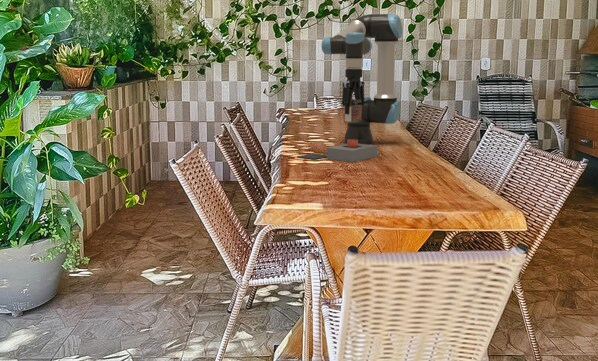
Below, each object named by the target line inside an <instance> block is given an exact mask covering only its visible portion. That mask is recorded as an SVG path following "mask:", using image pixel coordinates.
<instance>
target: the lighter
mask: <svg viewBox="0 0 598 361" xmlns="http://www.w3.org/2000/svg"><path fill="white" fill-rule="evenodd" d="M353 99H354V98H352V100H351V104H350V107H351V122H362V120H361V112H362V105H358V103H361V100H353ZM355 103H356V104H355ZM343 108H345V106H343ZM343 122H344V123H347V124H348V123H351V122H347V121H345V119H344V121H343Z"/></svg>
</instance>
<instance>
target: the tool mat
mask: <svg viewBox="0 0 598 361" xmlns="http://www.w3.org/2000/svg"><path fill="white" fill-rule="evenodd" d="M296 158H298V159H302V160H303V159H304V160H310V161H311V160H313V161H317V160H323V159H327V154H321V153H315V152H314V153H308V154H302V155H298V156H296Z"/></svg>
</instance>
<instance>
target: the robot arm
mask: <svg viewBox="0 0 598 361" xmlns="http://www.w3.org/2000/svg"><path fill="white" fill-rule="evenodd" d="M402 36H403V23H402V20H401V17H400V16H399V15H398V14H396V13H378V14H377V13H376V14H374V13H371V14H364V15H360V16H359V17H357V18H353V19H352V20H351V21H350V22H349V23H348V24H347V27H345V28H344V29H343V30H341V31H339V33H337V34H335V35H334V36H332V37H331V36H328V37H324V38H323V39H322V40H321V51H322V53H323V54H325V55H345V71H344V72H345V73H344V74H345V75H344V76H345V78H347V80H346V82H342V96H341V106H342V107H344V106H345V107H344V120H345V121H347V122H351V107H350V104H351V100H352V99H353V100H361V103H358V105H362V112H361V120H362V122H351V123H347V122H346V123H347V128H346V131H345V134H344V138H343V143H344V144H347V140H348V139H356V140H358V144H367V145H372V144H373V143H374V136H373V133H372V129H371V124H385V125H389V124H391V125H392V124H395V123H397V121H398V119H399V117H400V113H401V106H402V105H401V102H400V101H399V100H398V97H397V95H396V94H395V64H396V63H395V62H396V61H395V60H396V58H395V56H396V45H397V44H398V43H399V40H400V39H401V38H402ZM371 39H374V43H375V44H376V45H377V62H376V63H377V66H376V67H377V68H376V71H377V73H376V75H377V76H376V94H375V95H374V96H373V99H372V98H371V97H370V96H365V81H361V78H363V74H364V71H363V69H362V68H363V67H364V65H363V64H364V62H363V61H364V56H365V55H367V54H369V53H370V52H371V51H372V49H373V43H372V41H371ZM353 95H354V97H355V98H353ZM355 104H356V103H355Z"/></svg>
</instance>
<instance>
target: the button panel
mask: <svg viewBox="0 0 598 361" xmlns="http://www.w3.org/2000/svg"><path fill="white" fill-rule="evenodd" d="M378 148H379V146H378V145H374V144H358V148H348V147H347V143H344V144H339V145H333V146H329V147H326V155H327V158H326V160H333V161H339V162H340V161H341V162H348V163H355V162H359V161H364V160H368V159H374V158H377V157H379V153H378V152H379V149H378Z"/></svg>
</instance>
